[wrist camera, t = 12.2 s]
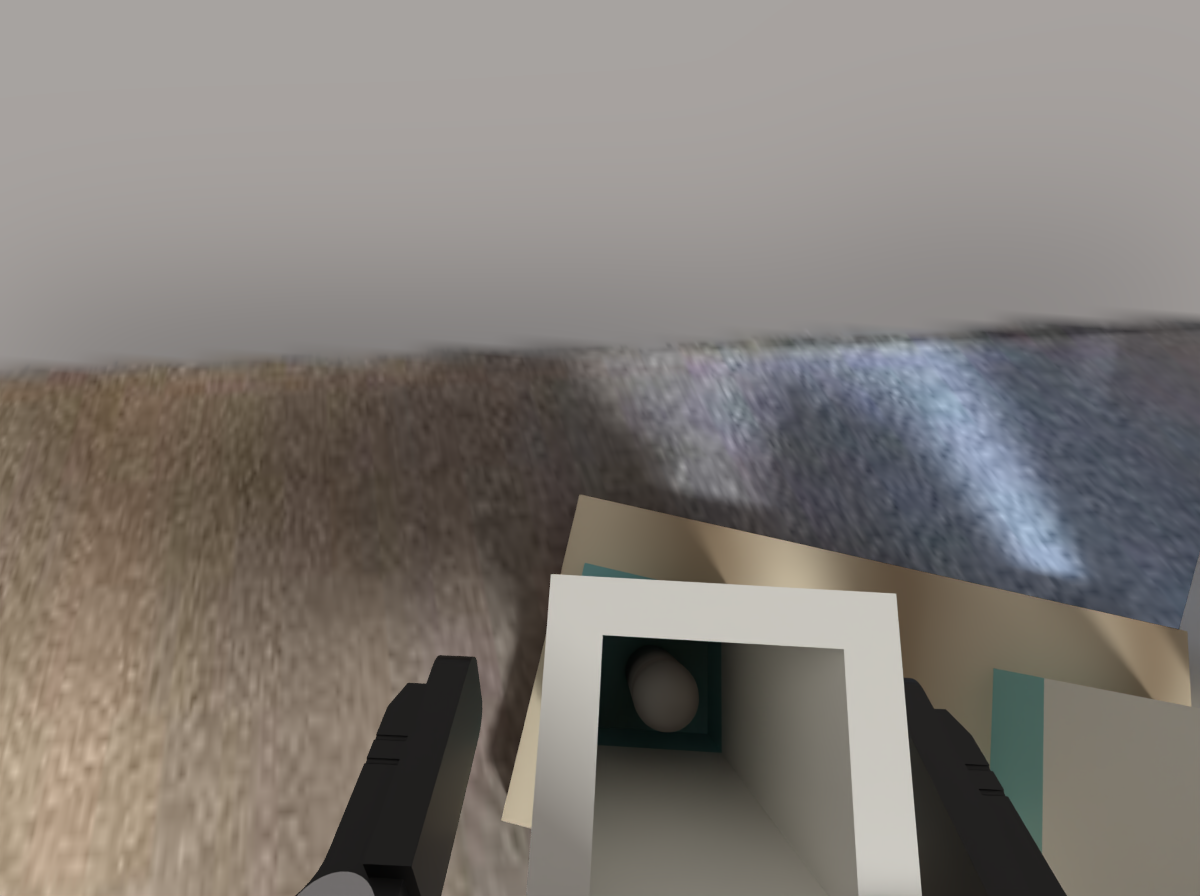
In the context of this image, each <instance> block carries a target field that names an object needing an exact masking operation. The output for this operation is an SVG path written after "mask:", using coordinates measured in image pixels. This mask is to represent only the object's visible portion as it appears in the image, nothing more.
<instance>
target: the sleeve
mask: <svg viewBox="0 0 1200 896" xmlns="http://www.w3.org/2000/svg"><path fill="white" fill-rule="evenodd" d="M603 635H610V636H627V637H644V638H661V639H678V640H696V641H708V713H707V734H703V733H687V732H660V731H654V730H638V729H622V728H606V727H598V718H599V698H600V679H601V659H602V639H603ZM526 896H922V891H921V879H920V868H919V856H918V844H917V832H916V821H915V809H914V797H913V786H912V774H911V762H910V750H909V739H908V727H907V715H906V703H905V692H904V680H903V668H902V657H901V645H900V633H899V621H898V610H897V598H896V594H894V593H876V592H859V591H841V590H823V589H806V588H788V587H770V586H753V585H735V584H717V583H700V582H682V581H665V580H647V579H629V578H612V577H594V576H576V575H559V574H551V580H550V593H549V606H548V619H547V632H546V645H545V658H544V671H543V684H542V697H541V710H540V723H539V736H538V749H537V762H536V775H535V788H534V801H533V814H532V827H531V840H530V853H529V866H528V879H527V892H526Z"/></svg>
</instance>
